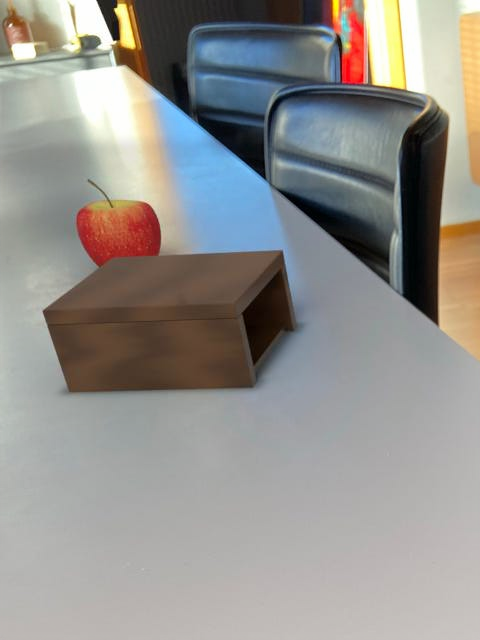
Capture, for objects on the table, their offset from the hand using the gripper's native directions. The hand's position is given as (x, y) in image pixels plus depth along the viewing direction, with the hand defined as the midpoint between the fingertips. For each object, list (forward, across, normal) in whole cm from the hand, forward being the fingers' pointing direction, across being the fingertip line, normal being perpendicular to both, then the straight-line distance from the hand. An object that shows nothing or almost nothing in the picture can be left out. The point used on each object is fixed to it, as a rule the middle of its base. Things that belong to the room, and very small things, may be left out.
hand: (51, 40), depth 107 cm
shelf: (+44, +2, +14) cm, 47 cm away
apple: (+23, 0, -8) cm, 24 cm away
